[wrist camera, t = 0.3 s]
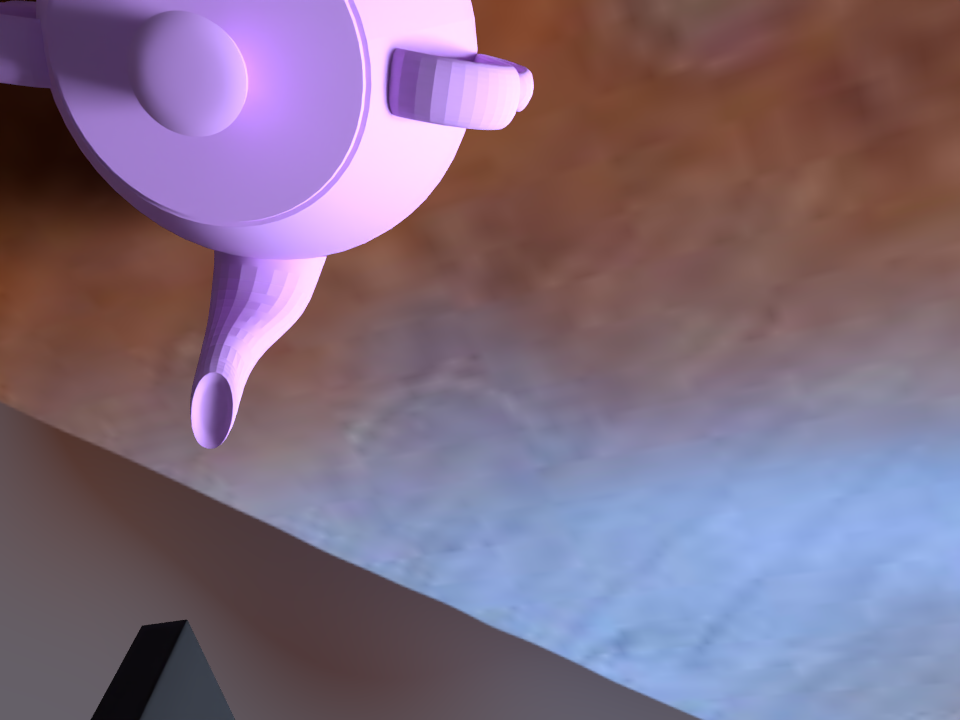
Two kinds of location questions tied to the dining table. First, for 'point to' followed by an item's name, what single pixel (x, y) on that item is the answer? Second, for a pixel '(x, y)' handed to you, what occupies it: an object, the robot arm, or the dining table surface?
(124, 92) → the teapot
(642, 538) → the dining table surface
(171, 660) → the robot arm
